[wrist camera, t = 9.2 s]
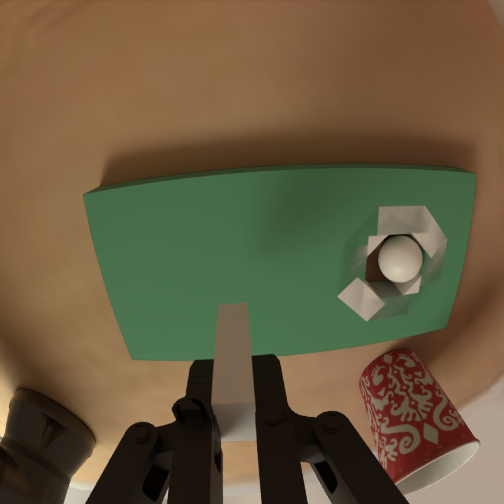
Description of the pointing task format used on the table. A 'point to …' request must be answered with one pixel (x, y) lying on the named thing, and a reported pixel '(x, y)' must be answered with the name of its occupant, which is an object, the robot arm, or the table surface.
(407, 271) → the ball
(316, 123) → the table surface
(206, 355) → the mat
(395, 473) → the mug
